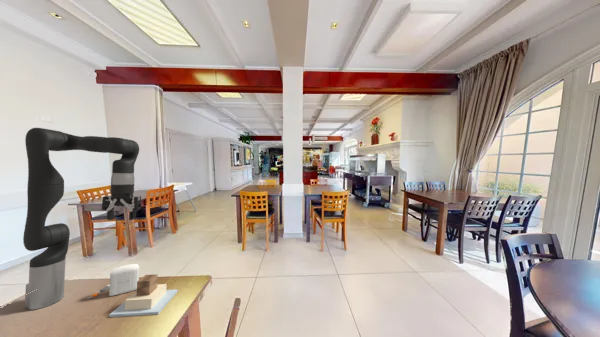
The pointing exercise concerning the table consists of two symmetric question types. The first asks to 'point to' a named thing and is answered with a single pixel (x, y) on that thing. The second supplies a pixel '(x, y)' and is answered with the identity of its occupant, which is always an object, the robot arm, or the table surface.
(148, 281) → the walnut block
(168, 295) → the butter dish
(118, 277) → the photo printer
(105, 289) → the key chain
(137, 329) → the table surface
